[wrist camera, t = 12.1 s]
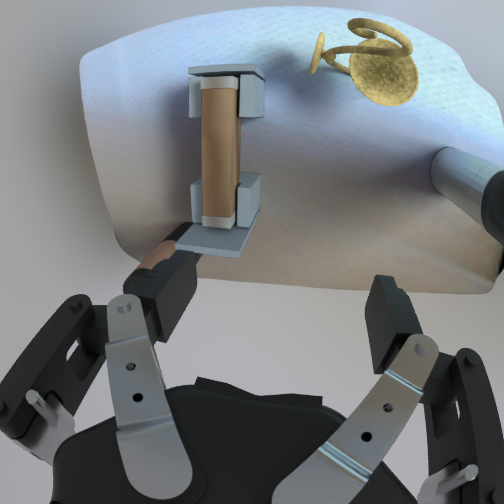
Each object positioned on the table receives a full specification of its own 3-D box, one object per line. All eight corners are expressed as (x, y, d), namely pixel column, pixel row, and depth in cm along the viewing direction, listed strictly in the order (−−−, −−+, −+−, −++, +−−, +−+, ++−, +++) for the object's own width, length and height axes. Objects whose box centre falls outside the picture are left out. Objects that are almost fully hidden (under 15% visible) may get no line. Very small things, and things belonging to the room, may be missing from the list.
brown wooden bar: (243, 80, 33) (232, 76, 28) (239, 214, 43) (230, 228, 39) (214, 81, 34) (200, 77, 29) (214, 212, 44) (202, 225, 39)
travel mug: (201, 216, 52) (151, 273, 35) (214, 251, 55) (174, 317, 38) (169, 225, 54) (113, 279, 37) (183, 257, 57) (137, 318, 40)
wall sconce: (306, 86, 37) (306, 55, 16) (320, 37, 32) (330, -34, 11) (387, 115, 36) (465, 126, 15) (400, 67, 31) (481, 38, 10)
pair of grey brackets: (265, 74, 37) (243, 54, 23) (259, 214, 49) (238, 258, 36) (212, 75, 38) (168, 61, 25) (211, 209, 51) (175, 250, 37)
